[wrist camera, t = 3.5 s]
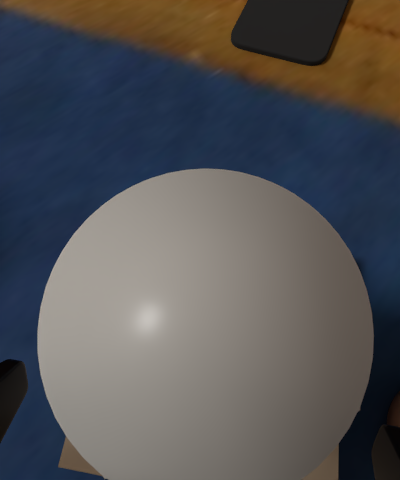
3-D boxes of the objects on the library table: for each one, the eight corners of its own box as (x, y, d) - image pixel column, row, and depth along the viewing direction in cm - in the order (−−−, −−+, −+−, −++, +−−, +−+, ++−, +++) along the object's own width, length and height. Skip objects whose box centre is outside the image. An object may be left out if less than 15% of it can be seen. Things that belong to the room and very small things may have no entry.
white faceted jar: (298, 282, 18) (370, 184, 9) (288, 455, 15) (378, 550, 7) (150, 262, 19) (88, 155, 10) (115, 422, 16) (-13, 468, 7)
